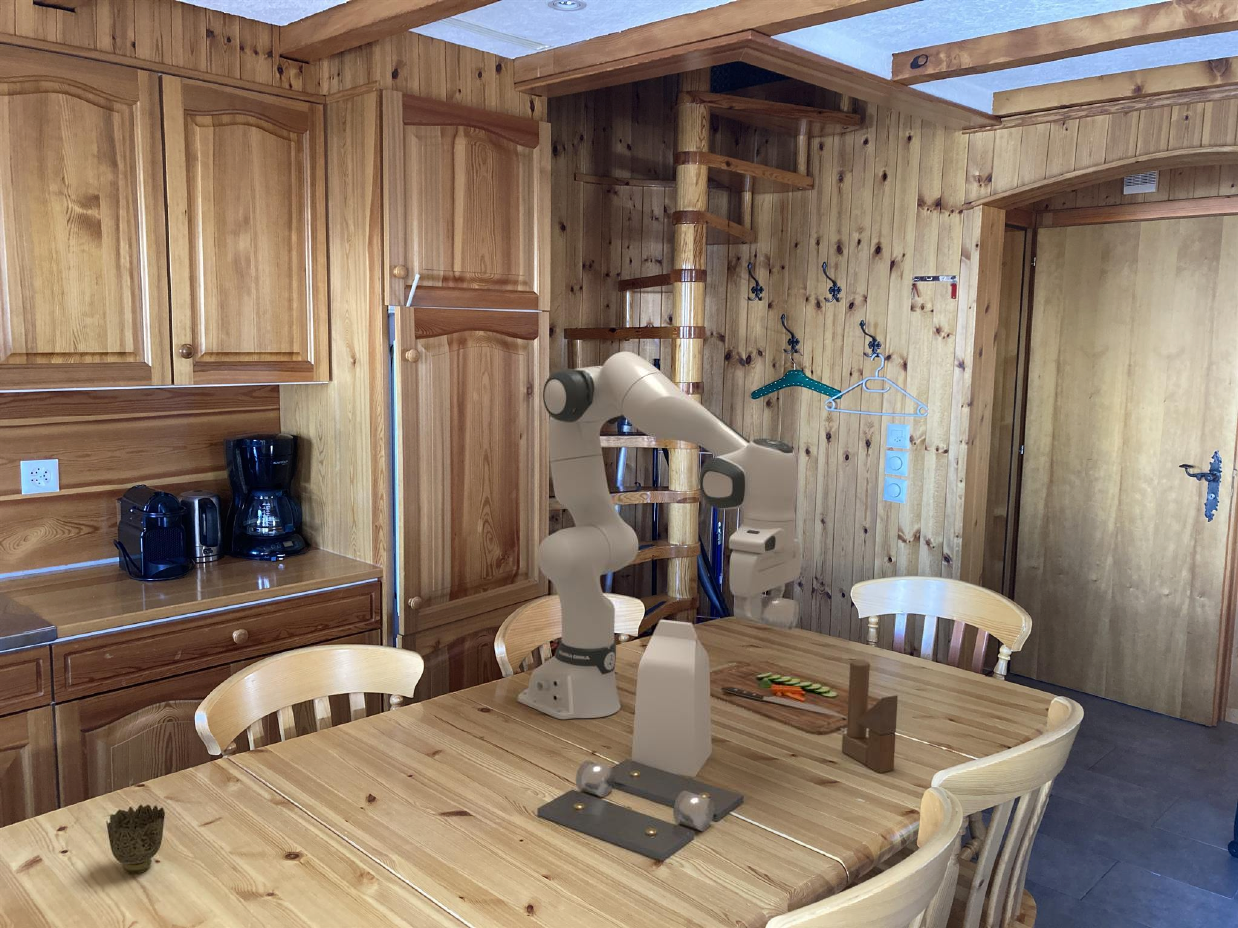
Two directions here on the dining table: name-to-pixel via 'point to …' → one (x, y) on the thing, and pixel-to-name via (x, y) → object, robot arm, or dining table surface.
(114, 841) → the cup
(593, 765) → the hinge base
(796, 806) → the dining table surface
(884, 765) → the wooden block
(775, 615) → the knuckle
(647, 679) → the milk
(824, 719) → the chopping board
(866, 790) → the dining table surface
